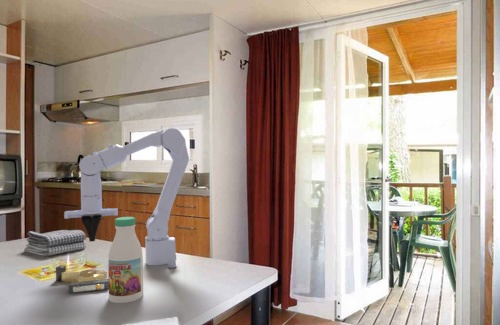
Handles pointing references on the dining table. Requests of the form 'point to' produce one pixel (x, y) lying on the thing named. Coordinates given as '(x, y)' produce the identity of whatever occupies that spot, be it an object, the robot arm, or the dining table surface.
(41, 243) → the towel
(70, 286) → the stand base
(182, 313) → the dining table surface
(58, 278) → the tan piece
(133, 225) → the milk bottle
